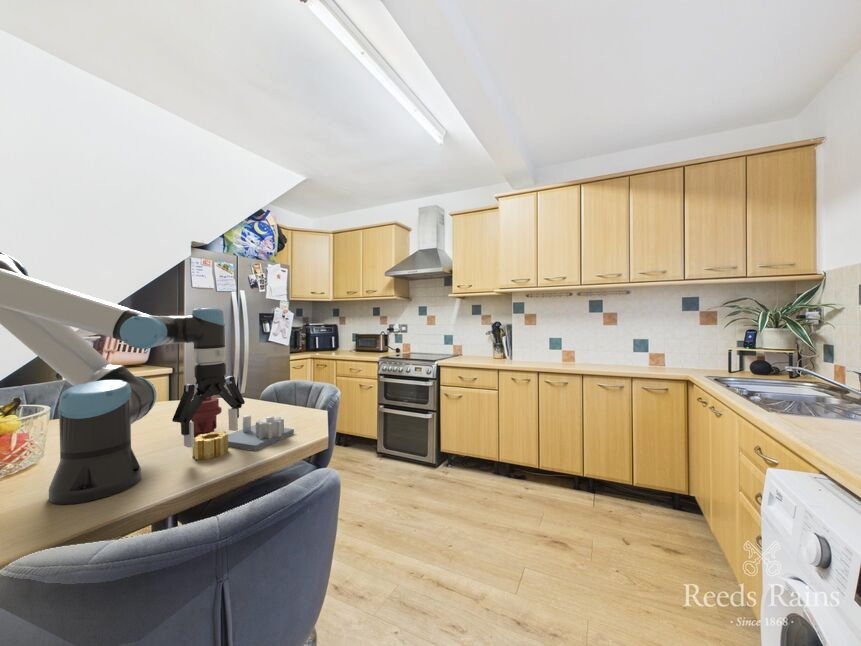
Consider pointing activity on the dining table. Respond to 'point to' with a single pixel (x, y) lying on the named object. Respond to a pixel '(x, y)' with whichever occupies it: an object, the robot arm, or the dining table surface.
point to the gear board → (259, 433)
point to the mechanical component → (206, 416)
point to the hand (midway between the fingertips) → (212, 437)
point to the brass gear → (210, 445)
